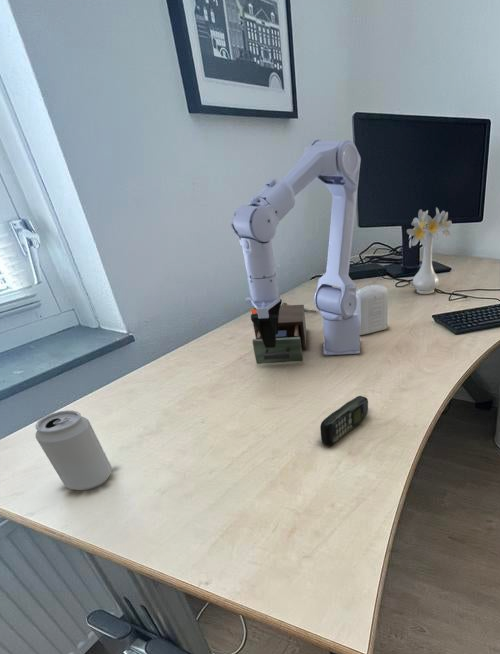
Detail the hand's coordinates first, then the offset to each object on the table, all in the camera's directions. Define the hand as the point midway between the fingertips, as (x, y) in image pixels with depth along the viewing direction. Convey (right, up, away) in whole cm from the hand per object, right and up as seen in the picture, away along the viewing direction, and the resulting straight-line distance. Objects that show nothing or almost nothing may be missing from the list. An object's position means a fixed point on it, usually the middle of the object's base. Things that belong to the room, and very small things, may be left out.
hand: (271, 340), depth 97 cm
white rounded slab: (+22, +12, +29) cm, 39 cm away
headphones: (-6, +19, +38) cm, 43 cm away
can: (-26, -31, -22) cm, 46 cm away
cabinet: (-2, +7, +24) cm, 25 cm away
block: (-1, +3, +15) cm, 15 cm away
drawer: (-1, +1, +14) cm, 14 cm away
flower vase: (+42, +35, +57) cm, 79 cm away
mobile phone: (+17, -21, -11) cm, 29 cm away
